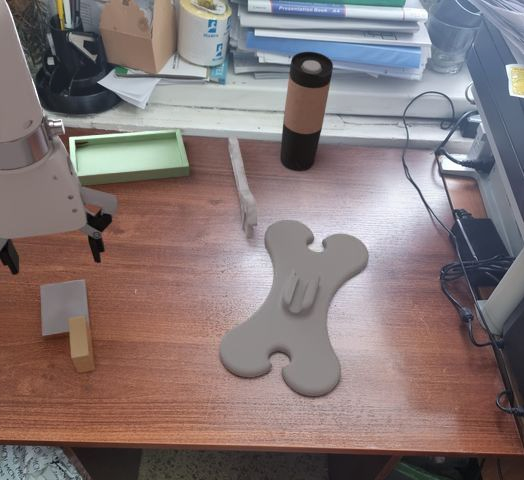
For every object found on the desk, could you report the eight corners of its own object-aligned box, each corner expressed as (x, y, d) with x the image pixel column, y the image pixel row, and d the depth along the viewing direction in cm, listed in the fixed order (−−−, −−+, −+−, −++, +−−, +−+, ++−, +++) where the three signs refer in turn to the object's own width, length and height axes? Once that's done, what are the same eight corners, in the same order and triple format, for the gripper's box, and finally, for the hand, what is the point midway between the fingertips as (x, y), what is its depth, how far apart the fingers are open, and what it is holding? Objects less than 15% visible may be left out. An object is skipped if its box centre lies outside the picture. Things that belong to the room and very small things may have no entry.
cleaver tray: (74, 186, 96) (71, 176, 94) (71, 147, 102) (68, 137, 100) (189, 175, 100) (189, 166, 98) (180, 138, 106) (179, 128, 104)
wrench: (236, 159, 108) (256, 250, 90) (227, 159, 108) (246, 250, 90) (237, 122, 102) (258, 211, 84) (228, 122, 102) (247, 212, 83)
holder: (211, 369, 77) (210, 351, 73) (271, 221, 95) (274, 200, 91) (332, 405, 75) (339, 389, 71) (370, 247, 93) (377, 227, 89)
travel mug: (281, 145, 107) (293, 48, 91) (316, 151, 107) (335, 54, 90) (276, 168, 103) (288, 70, 86) (313, 174, 103) (332, 77, 86)
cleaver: (42, 290, 82) (34, 272, 79) (86, 283, 84) (80, 265, 80) (45, 379, 74) (36, 363, 70) (95, 370, 75) (88, 355, 72)
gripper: (97, 106, 52) (125, 230, 66) (-88, 122, 48) (-17, 248, 63) (104, 152, 48) (132, 272, 62) (-97, 172, 45) (-19, 294, 59)
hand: (57, 260), depth 63 cm, fingers open, 9 cm apart
